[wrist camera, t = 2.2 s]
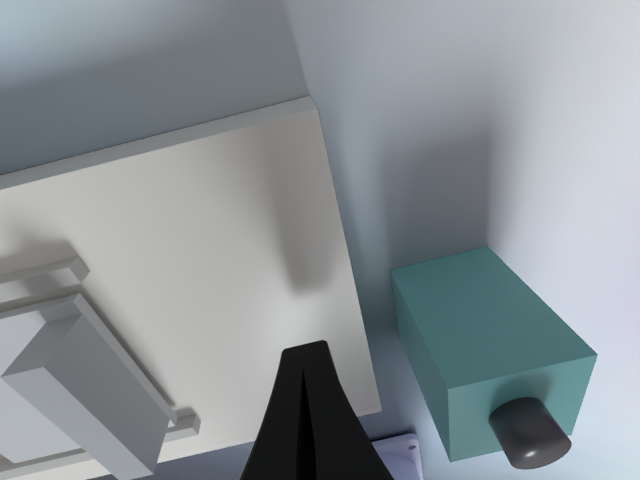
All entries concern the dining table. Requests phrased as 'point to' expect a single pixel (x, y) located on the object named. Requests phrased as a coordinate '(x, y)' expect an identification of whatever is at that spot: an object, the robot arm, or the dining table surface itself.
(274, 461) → the robot arm
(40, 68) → the dining table surface
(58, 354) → the shutter
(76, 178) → the socket plate
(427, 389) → the plug
